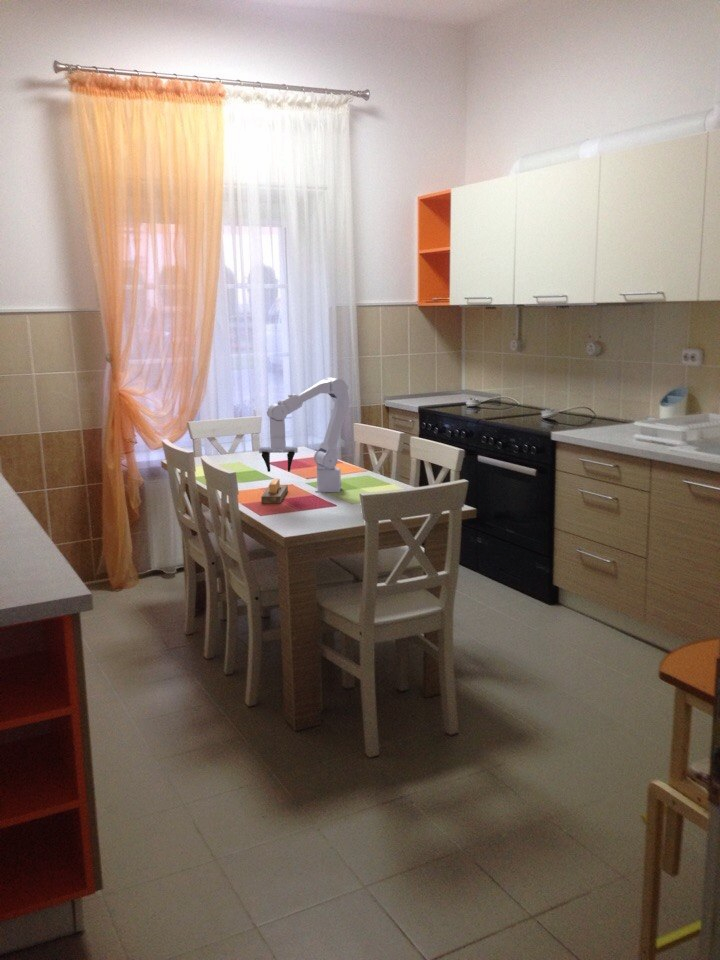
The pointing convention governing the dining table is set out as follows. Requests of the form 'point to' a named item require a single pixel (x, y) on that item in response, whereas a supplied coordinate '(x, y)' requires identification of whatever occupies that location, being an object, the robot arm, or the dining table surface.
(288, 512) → the dining table surface
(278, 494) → the rail
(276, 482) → the tan wooden beam
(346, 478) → the dining table surface
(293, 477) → the dining table surface
